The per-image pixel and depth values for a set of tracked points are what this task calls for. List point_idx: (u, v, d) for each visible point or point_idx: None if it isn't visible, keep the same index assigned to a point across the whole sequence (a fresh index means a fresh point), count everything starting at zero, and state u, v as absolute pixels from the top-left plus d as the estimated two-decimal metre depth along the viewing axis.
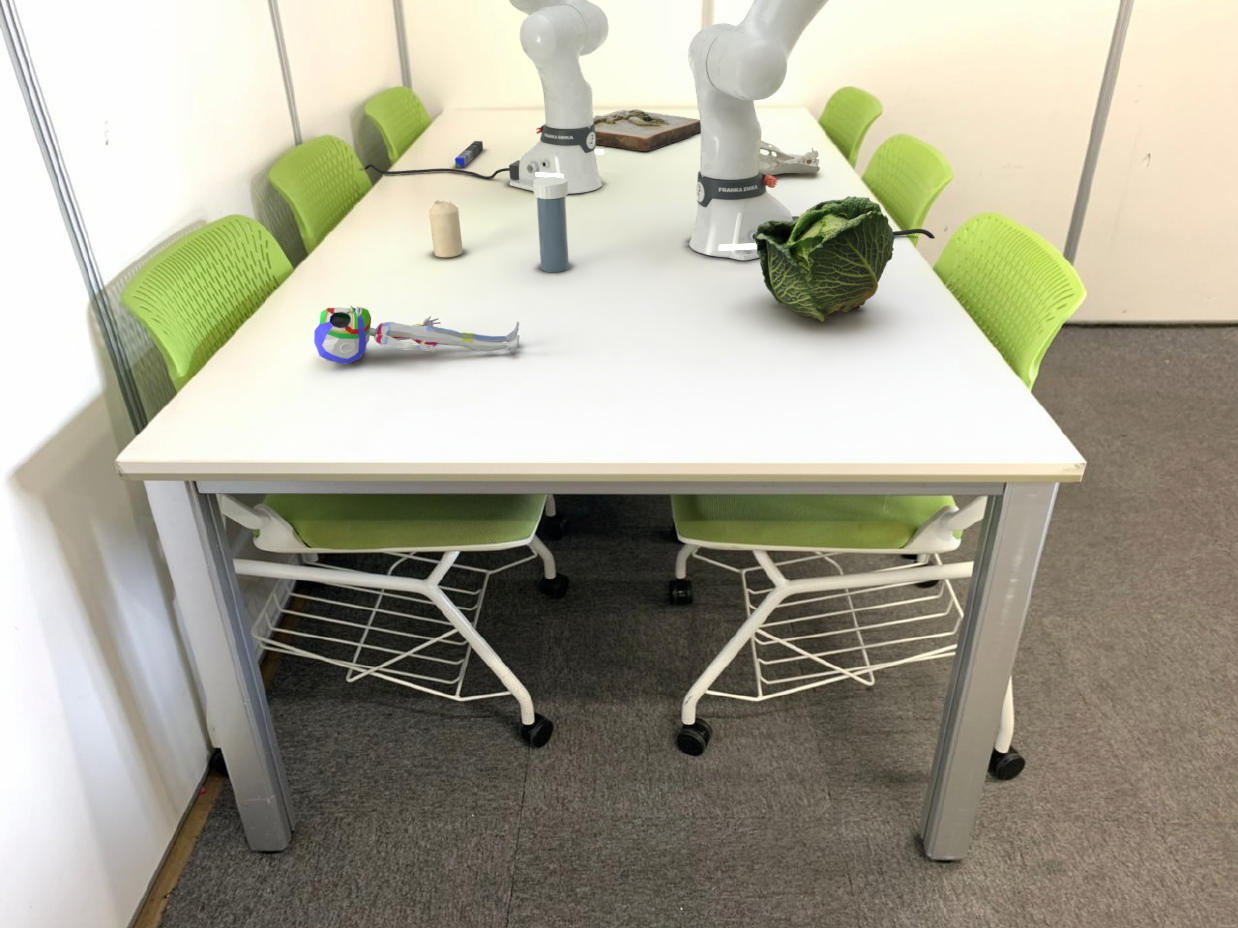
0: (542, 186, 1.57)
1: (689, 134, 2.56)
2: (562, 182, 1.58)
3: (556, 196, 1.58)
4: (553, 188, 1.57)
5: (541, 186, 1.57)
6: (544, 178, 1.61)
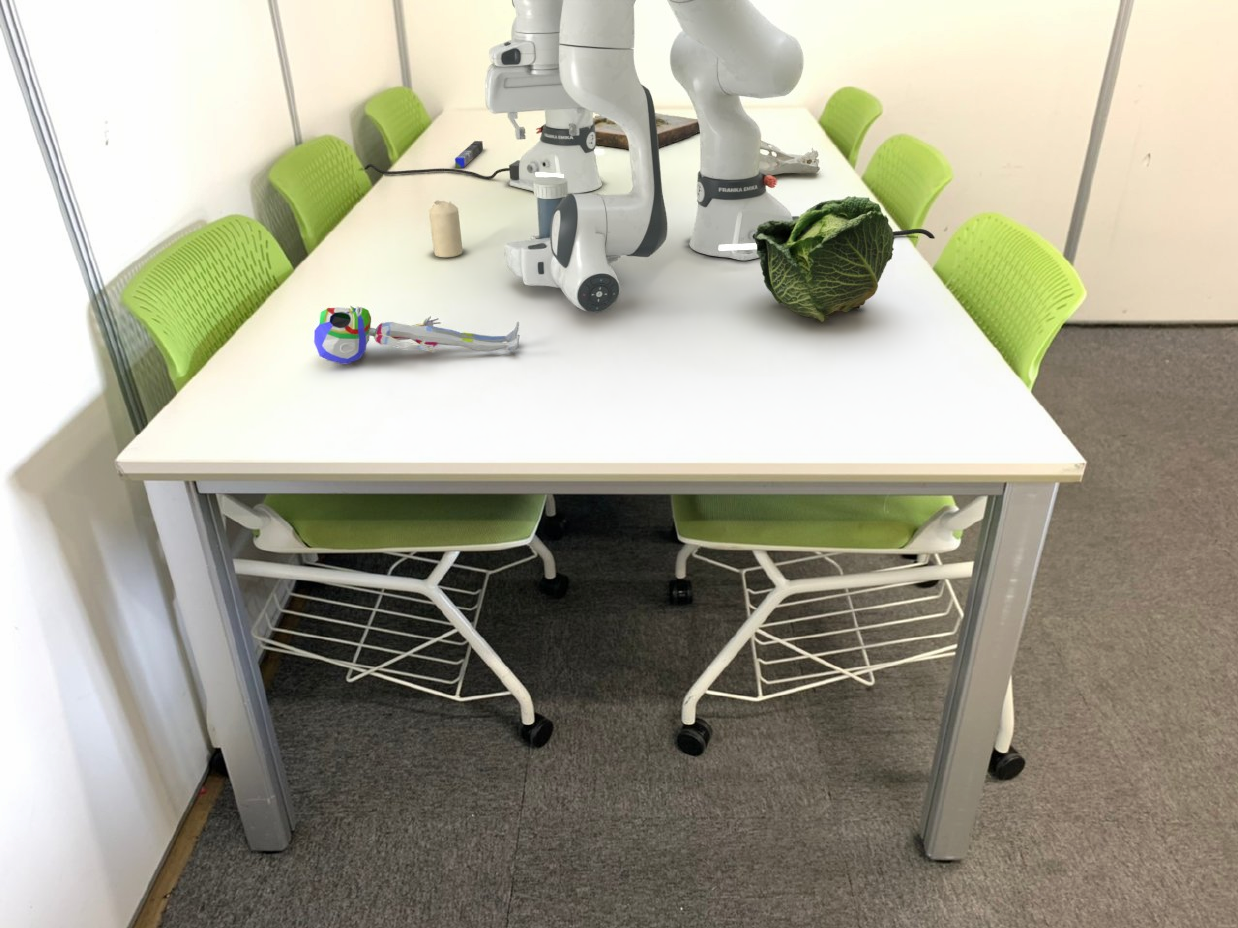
0: (542, 186, 1.57)
1: (689, 134, 2.56)
2: (562, 182, 1.58)
3: (556, 196, 1.58)
4: (553, 188, 1.57)
5: (541, 186, 1.57)
6: (544, 178, 1.61)
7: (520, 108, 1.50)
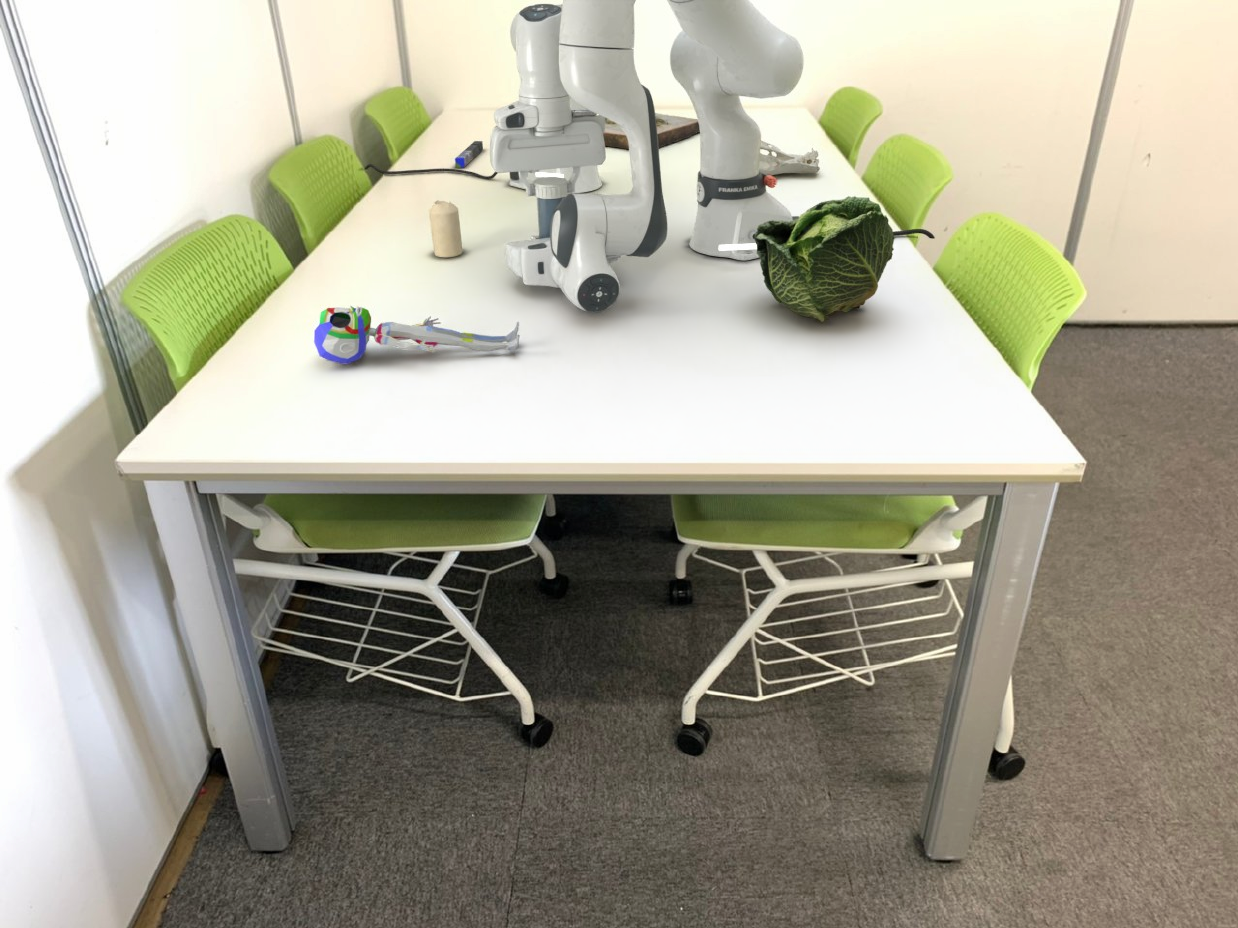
0: (542, 186, 1.57)
1: (689, 134, 2.56)
2: (562, 182, 1.58)
3: (556, 196, 1.58)
4: (553, 188, 1.57)
5: (541, 186, 1.57)
6: (544, 178, 1.61)
7: (524, 167, 1.55)
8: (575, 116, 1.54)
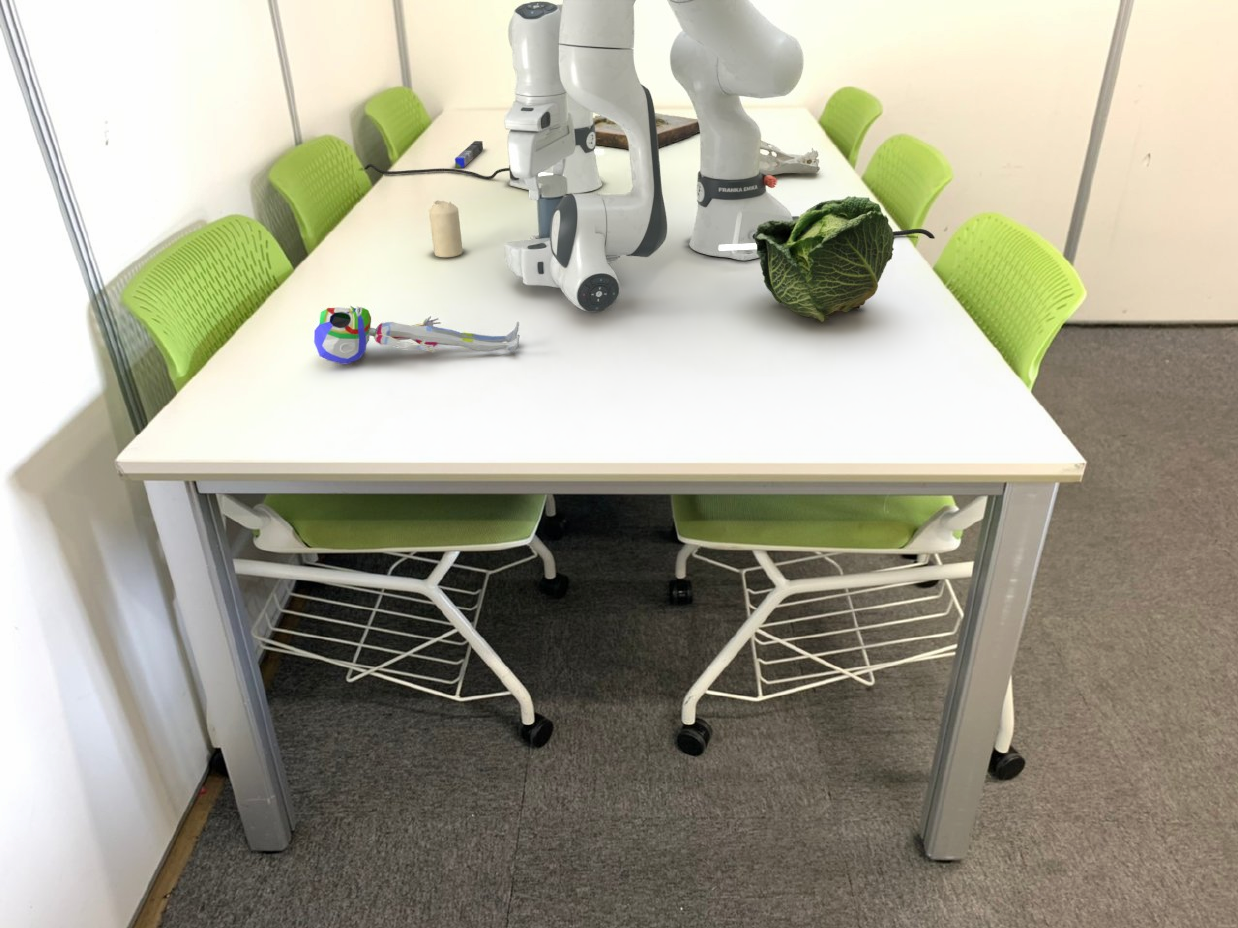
0: (564, 182, 1.58)
1: (689, 134, 2.56)
2: (557, 175, 1.61)
3: None
4: None
5: (563, 182, 1.58)
6: (539, 180, 1.58)
7: (543, 168, 1.53)
8: None
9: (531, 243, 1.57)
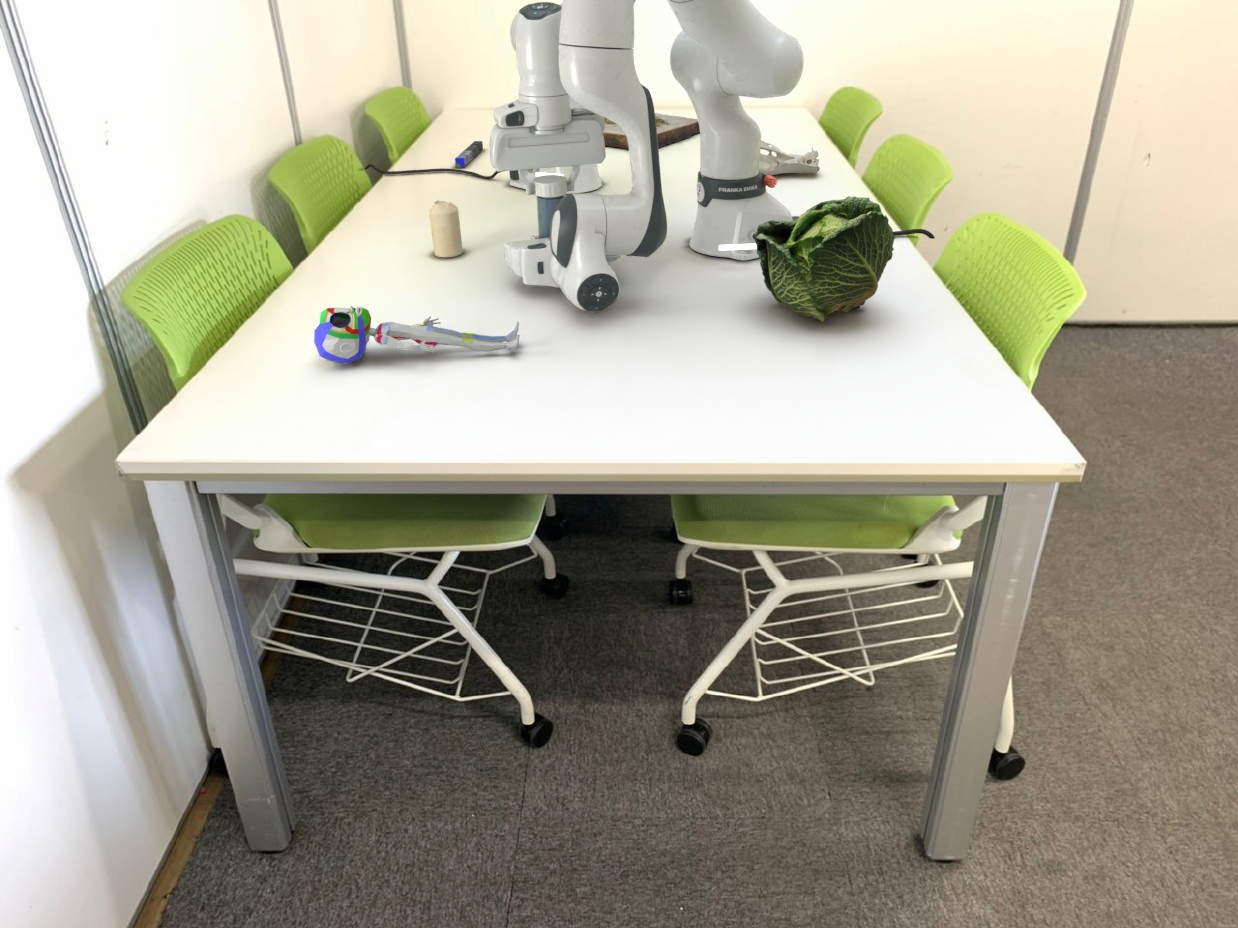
0: (564, 182, 1.58)
1: (689, 134, 2.56)
2: (557, 175, 1.61)
3: None
4: None
5: (563, 182, 1.58)
6: (539, 180, 1.58)
7: (523, 166, 1.55)
8: (575, 114, 1.54)
9: (531, 243, 1.57)
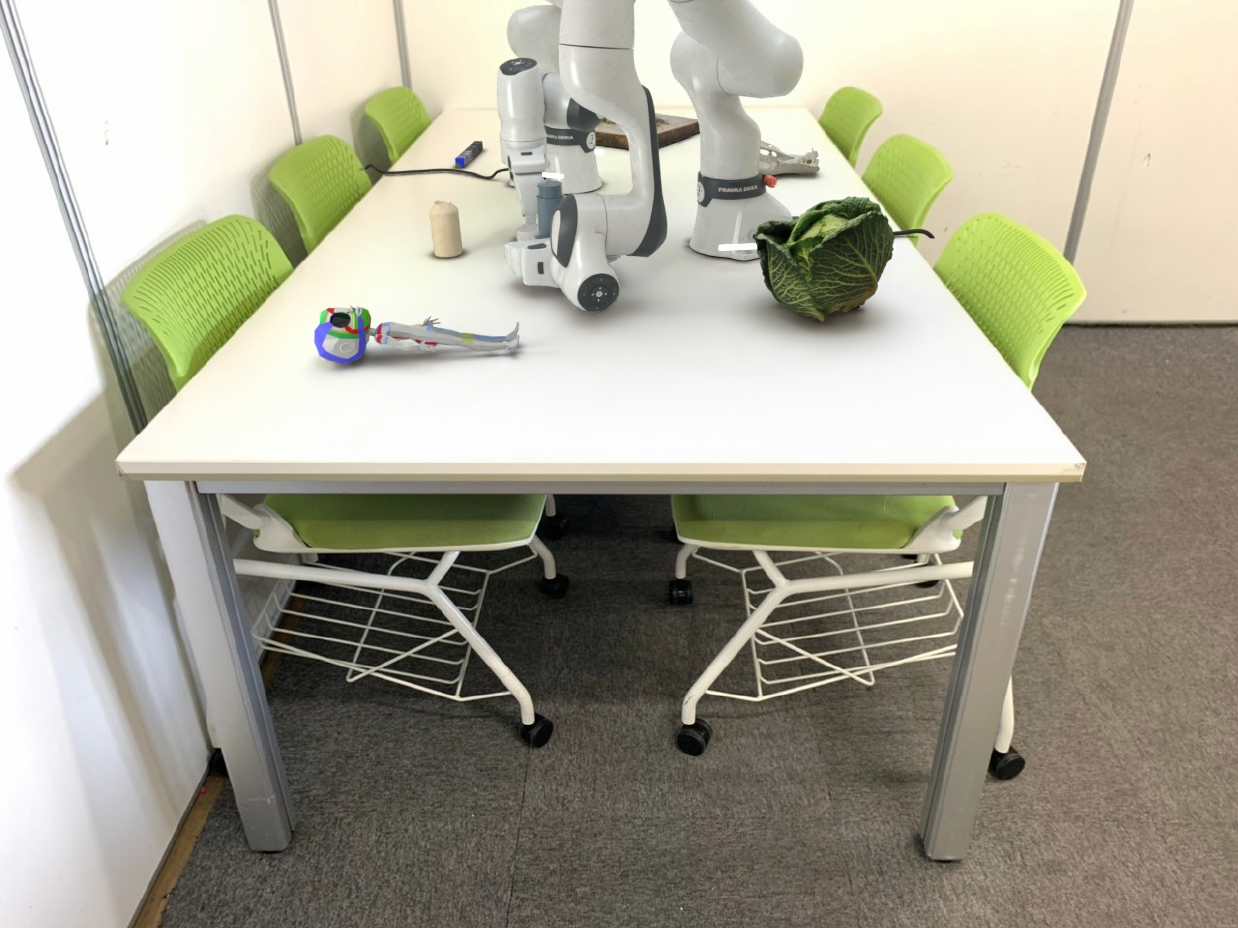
0: None
1: (689, 134, 2.56)
2: (521, 225, 1.82)
3: None
4: None
5: None
6: None
7: None
8: None
9: (531, 243, 1.57)
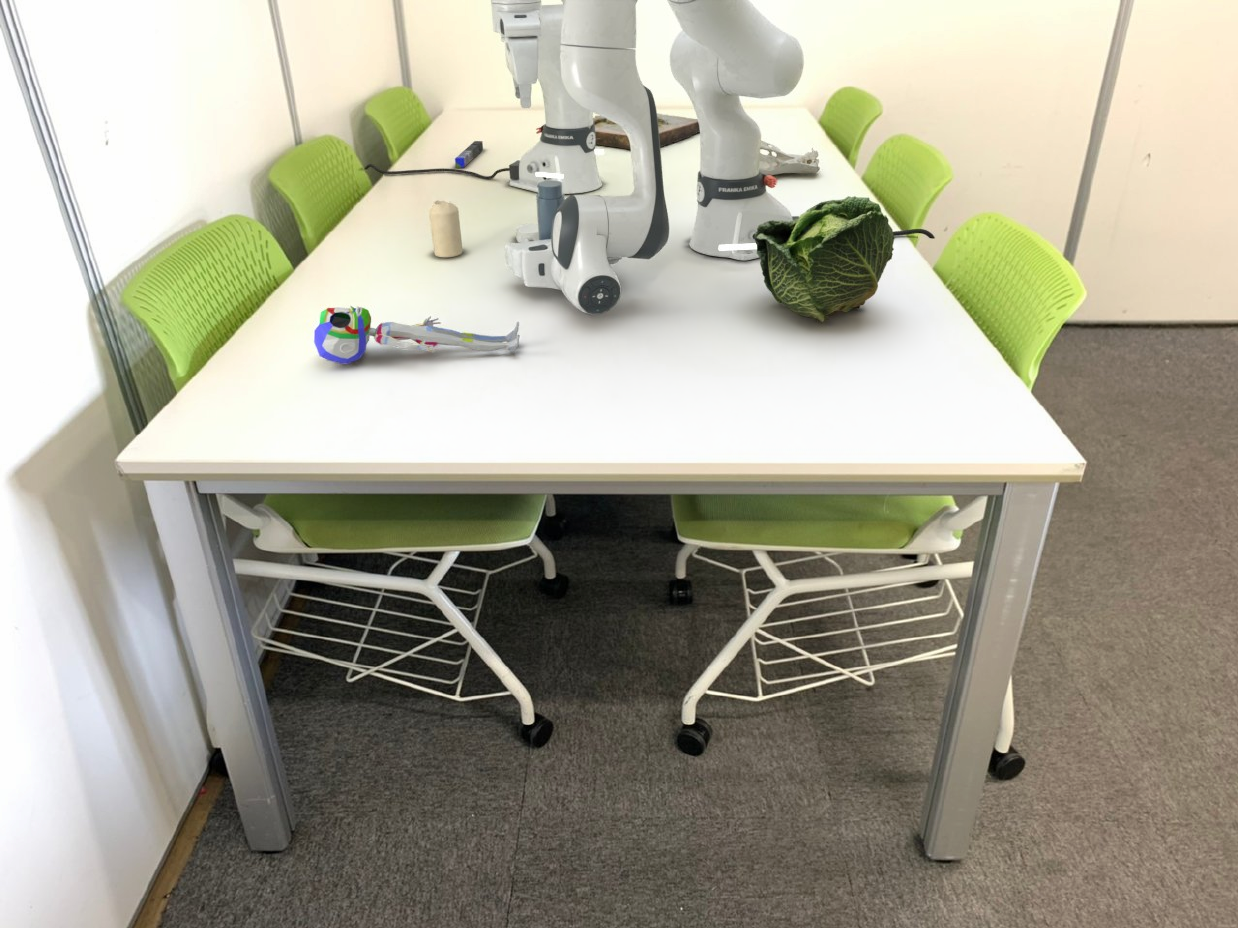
0: None
1: (689, 134, 2.56)
2: (521, 225, 1.82)
3: None
4: None
5: None
6: (534, 230, 1.79)
7: None
8: None
9: (532, 244, 1.57)
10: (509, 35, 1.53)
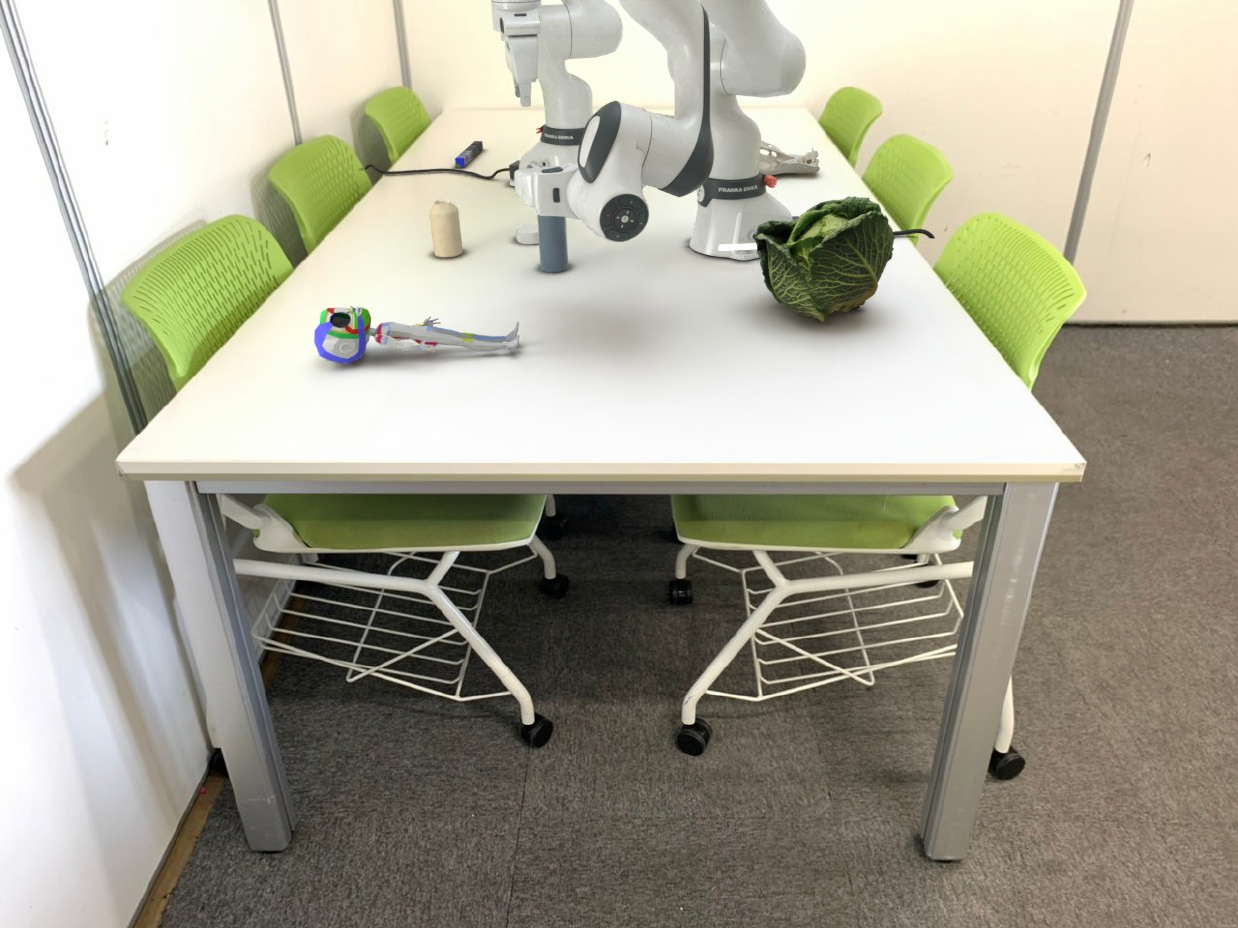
0: None
1: None
2: (521, 225, 1.82)
3: None
4: None
5: None
6: (534, 230, 1.79)
7: None
8: None
9: None
10: (509, 33, 1.52)
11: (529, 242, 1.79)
